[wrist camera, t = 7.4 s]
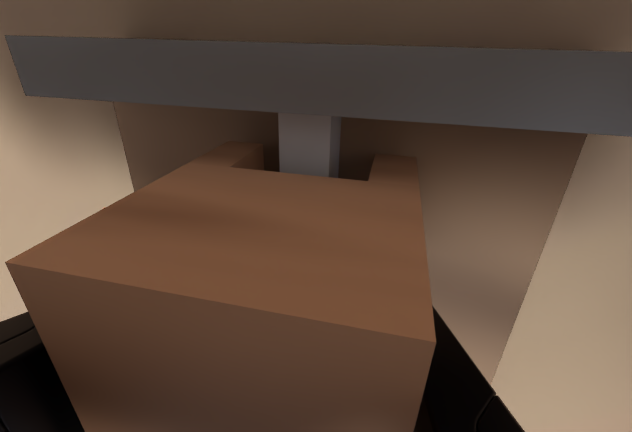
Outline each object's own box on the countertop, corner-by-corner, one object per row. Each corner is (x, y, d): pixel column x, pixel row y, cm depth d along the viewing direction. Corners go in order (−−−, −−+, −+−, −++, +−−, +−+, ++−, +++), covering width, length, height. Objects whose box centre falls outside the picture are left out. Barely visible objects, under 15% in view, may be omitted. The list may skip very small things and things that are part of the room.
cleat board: (473, 392, 13) (494, 495, 10) (184, 332, 16) (131, 402, 13) (595, 50, 8) (717, 54, 5) (123, 38, 10) (4, 35, 7)
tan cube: (387, 335, 11) (372, 593, 6) (240, 308, 12) (115, 508, 7) (415, 157, 8) (435, 342, 3) (223, 140, 9) (-5, 260, 4)
